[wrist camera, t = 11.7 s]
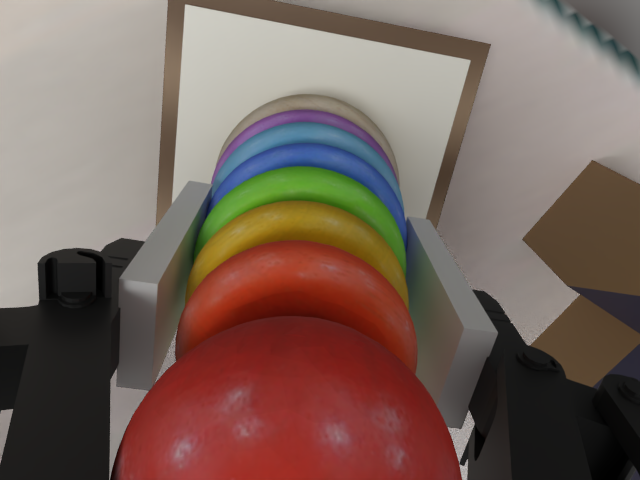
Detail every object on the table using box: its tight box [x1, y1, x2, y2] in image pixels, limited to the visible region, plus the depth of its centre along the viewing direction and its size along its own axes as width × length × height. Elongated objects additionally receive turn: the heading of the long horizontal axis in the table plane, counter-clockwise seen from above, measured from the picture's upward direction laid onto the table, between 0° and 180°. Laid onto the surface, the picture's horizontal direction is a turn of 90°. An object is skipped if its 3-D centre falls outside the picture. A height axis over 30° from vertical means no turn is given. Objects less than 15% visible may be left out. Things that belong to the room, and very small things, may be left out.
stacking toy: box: [110, 94, 462, 480], centre depth 14 cm, size 8×8×19 cm
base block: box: [156, 0, 491, 230], centre depth 27 cm, size 14×14×6 cm
